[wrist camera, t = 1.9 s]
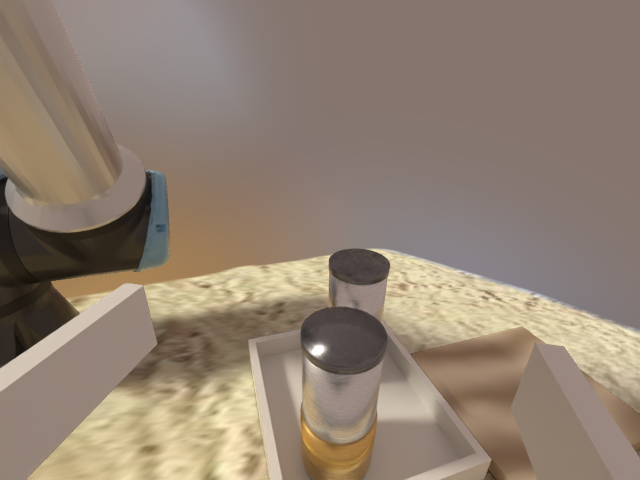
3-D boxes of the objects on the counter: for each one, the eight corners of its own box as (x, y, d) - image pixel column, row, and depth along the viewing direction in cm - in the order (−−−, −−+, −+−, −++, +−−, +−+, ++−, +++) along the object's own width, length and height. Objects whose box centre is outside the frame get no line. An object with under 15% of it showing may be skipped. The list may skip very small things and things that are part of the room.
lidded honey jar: (293, 433, 31) (290, 313, 25) (354, 415, 32) (364, 300, 27) (312, 507, 25) (314, 376, 19) (383, 480, 27) (405, 354, 21)
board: (408, 362, 40) (410, 353, 40) (519, 335, 45) (522, 326, 45) (514, 504, 26) (519, 494, 26) (656, 441, 32) (663, 431, 31)
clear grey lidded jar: (318, 351, 40) (320, 252, 35) (363, 341, 42) (373, 245, 36) (335, 391, 35) (341, 282, 29) (387, 378, 37) (402, 272, 31)
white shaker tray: (250, 361, 40) (247, 339, 39) (376, 334, 45) (378, 313, 44) (283, 565, 23) (281, 540, 21) (481, 484, 28) (491, 459, 26)
